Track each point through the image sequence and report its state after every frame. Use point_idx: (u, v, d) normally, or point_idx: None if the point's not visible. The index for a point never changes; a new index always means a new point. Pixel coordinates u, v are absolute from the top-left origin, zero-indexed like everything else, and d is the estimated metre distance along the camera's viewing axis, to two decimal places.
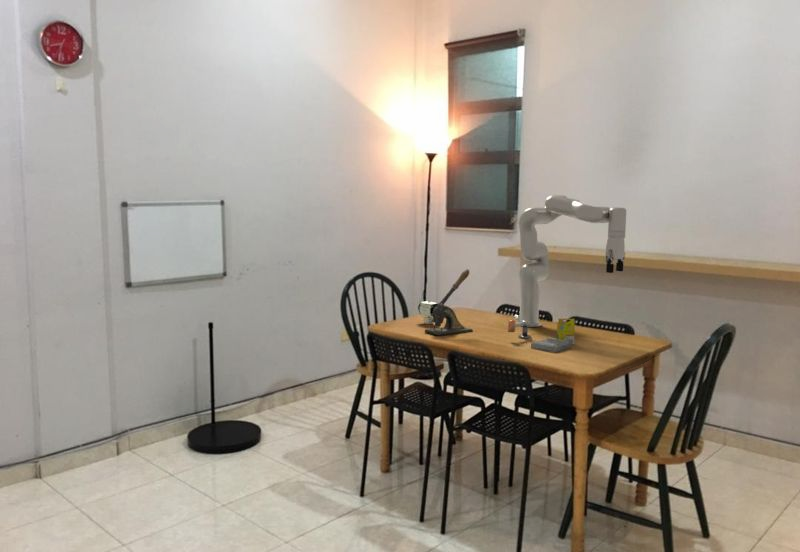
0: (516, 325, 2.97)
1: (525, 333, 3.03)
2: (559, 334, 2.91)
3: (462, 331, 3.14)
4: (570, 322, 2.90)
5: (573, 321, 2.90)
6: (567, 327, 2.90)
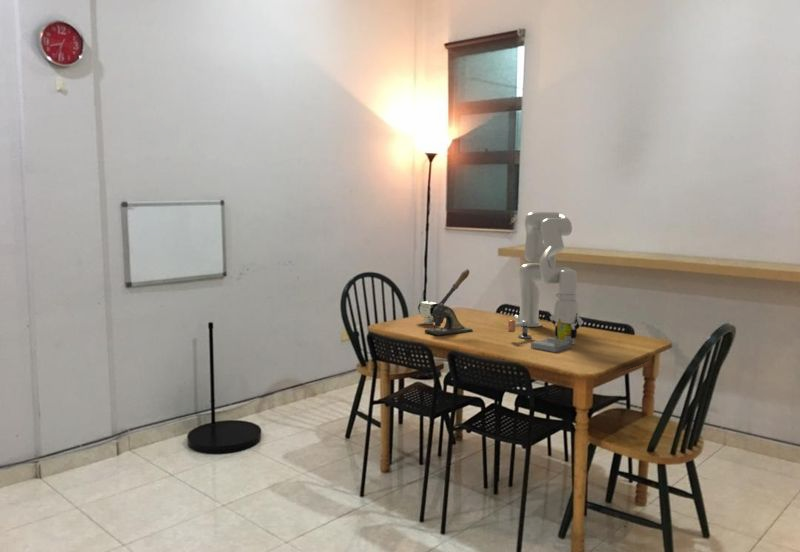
0: (516, 325, 2.97)
1: (525, 333, 3.03)
2: (559, 334, 2.91)
3: (462, 331, 3.14)
4: None
5: None
6: (567, 326, 2.90)
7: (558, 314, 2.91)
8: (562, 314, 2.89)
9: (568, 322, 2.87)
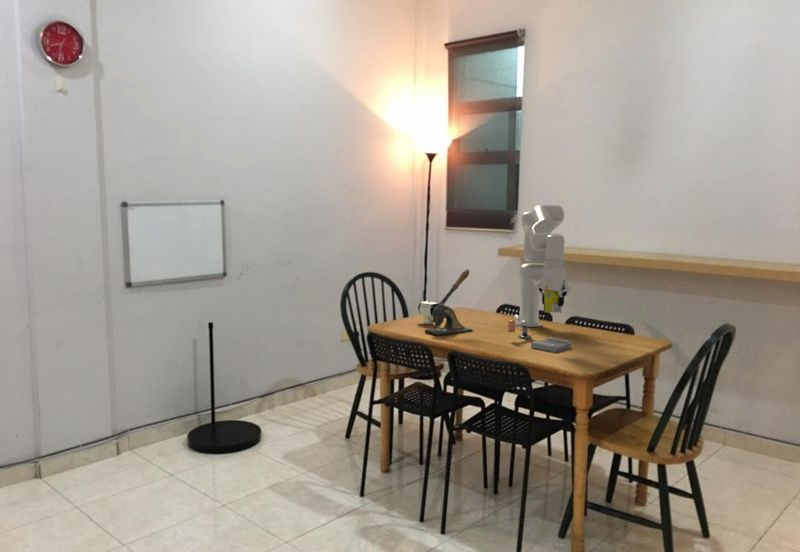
0: (516, 325, 2.97)
1: (525, 333, 3.03)
2: (546, 302, 2.80)
3: (462, 331, 3.14)
4: None
5: None
6: (554, 294, 2.80)
7: (545, 281, 2.80)
8: (549, 281, 2.79)
9: (555, 289, 2.77)
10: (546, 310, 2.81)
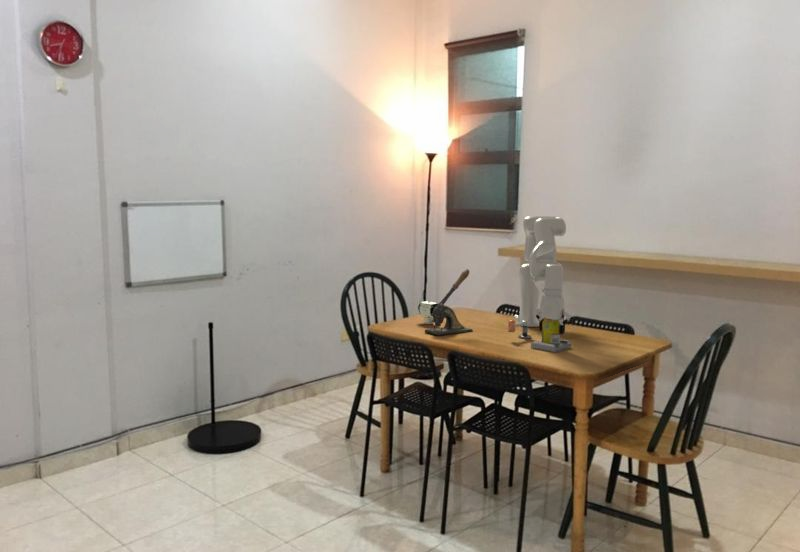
0: (516, 325, 2.97)
1: (525, 333, 3.03)
2: (544, 333, 2.82)
3: (462, 331, 3.14)
4: (556, 321, 2.82)
5: None
6: (552, 325, 2.82)
7: (544, 310, 2.82)
8: (548, 310, 2.80)
9: (554, 318, 2.78)
10: (544, 341, 2.82)
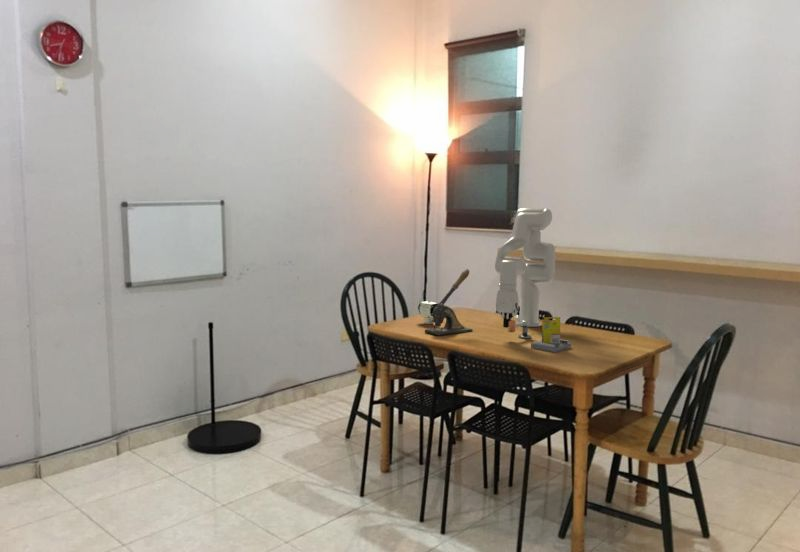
0: (516, 325, 2.97)
1: (525, 333, 3.03)
2: (544, 333, 2.82)
3: (462, 331, 3.14)
4: (556, 321, 2.82)
5: (559, 320, 2.81)
6: (552, 325, 2.82)
7: (499, 303, 2.99)
8: (502, 303, 2.97)
9: (508, 311, 2.95)
10: (544, 341, 2.82)
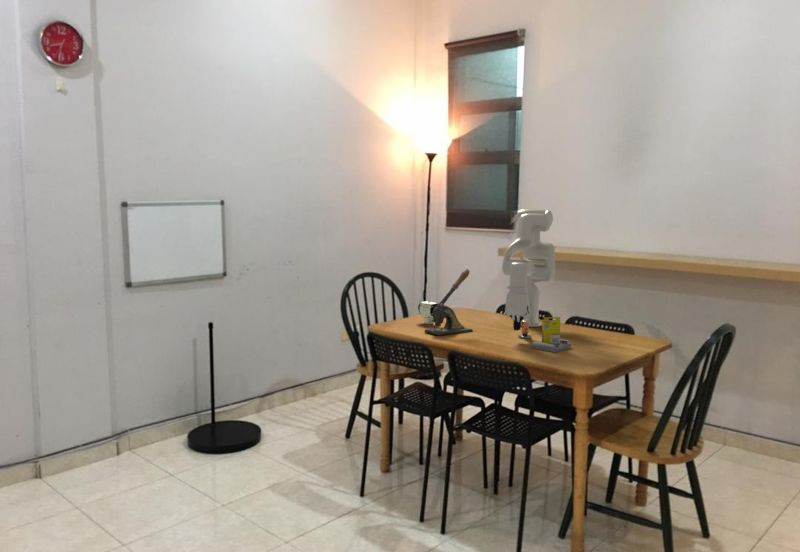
0: None
1: None
2: (544, 333, 2.82)
3: (462, 331, 3.14)
4: (556, 321, 2.82)
5: (559, 320, 2.81)
6: (552, 325, 2.82)
7: (509, 306, 2.94)
8: (513, 306, 2.92)
9: (519, 314, 2.91)
10: (544, 341, 2.82)
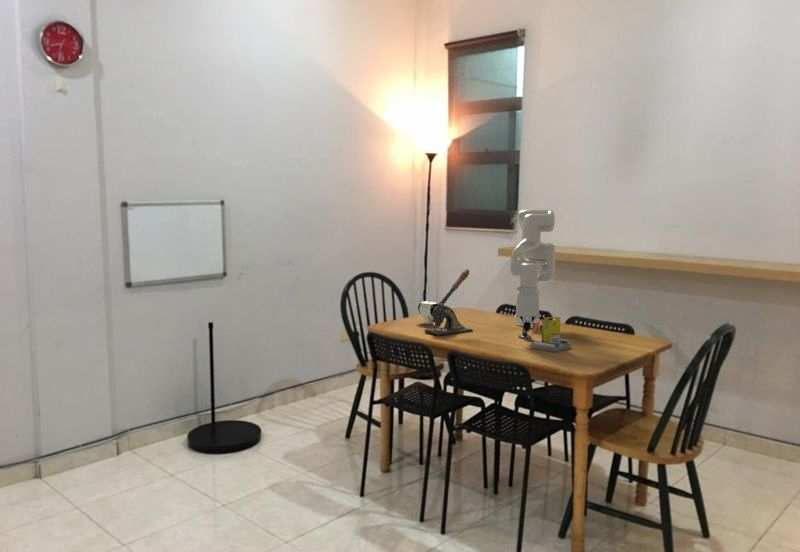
0: None
1: (525, 333, 3.03)
2: (544, 333, 2.82)
3: (462, 331, 3.14)
4: (556, 321, 2.82)
5: (559, 320, 2.81)
6: (552, 325, 2.82)
7: (521, 308, 2.91)
8: (526, 307, 2.90)
9: (533, 315, 2.90)
10: (544, 341, 2.82)
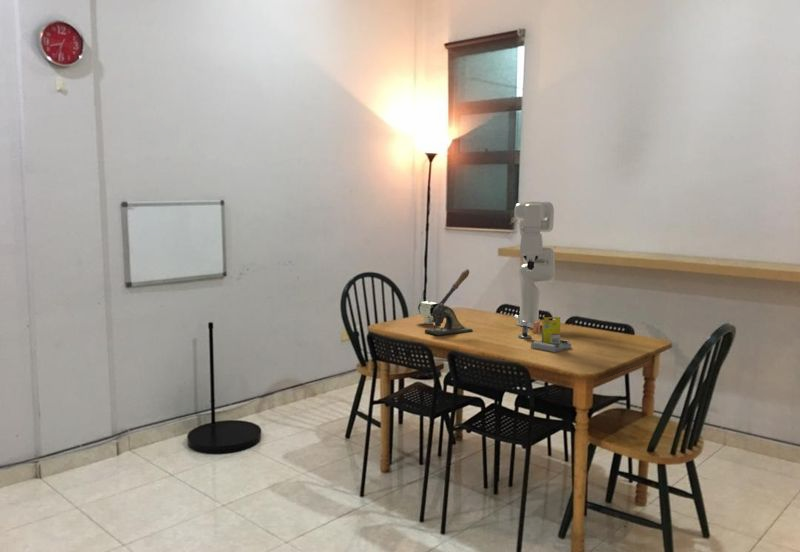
0: None
1: (525, 333, 3.03)
2: (544, 333, 2.82)
3: (462, 331, 3.14)
4: (556, 321, 2.82)
5: (559, 320, 2.81)
6: (552, 325, 2.82)
7: (525, 247, 3.04)
8: (530, 246, 3.03)
9: (536, 253, 3.03)
10: (544, 341, 2.82)
